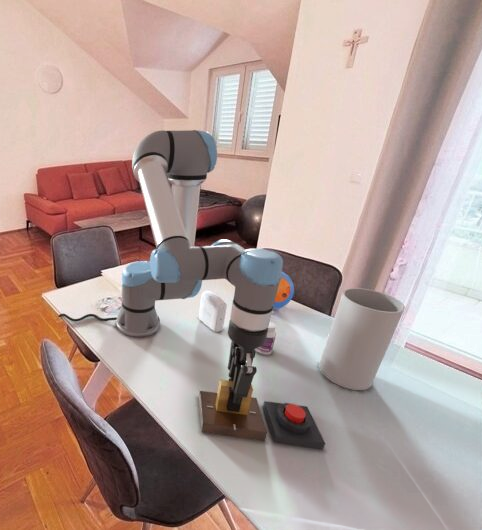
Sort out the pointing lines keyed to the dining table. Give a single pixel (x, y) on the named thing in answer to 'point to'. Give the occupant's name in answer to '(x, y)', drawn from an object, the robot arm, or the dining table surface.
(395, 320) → the cylinder vase
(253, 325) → the robot arm
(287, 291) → the treat dispenser ball
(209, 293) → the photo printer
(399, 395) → the dining table surface
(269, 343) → the pill bottle
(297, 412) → the button
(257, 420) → the panel
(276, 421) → the button box
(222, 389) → the lock handle
